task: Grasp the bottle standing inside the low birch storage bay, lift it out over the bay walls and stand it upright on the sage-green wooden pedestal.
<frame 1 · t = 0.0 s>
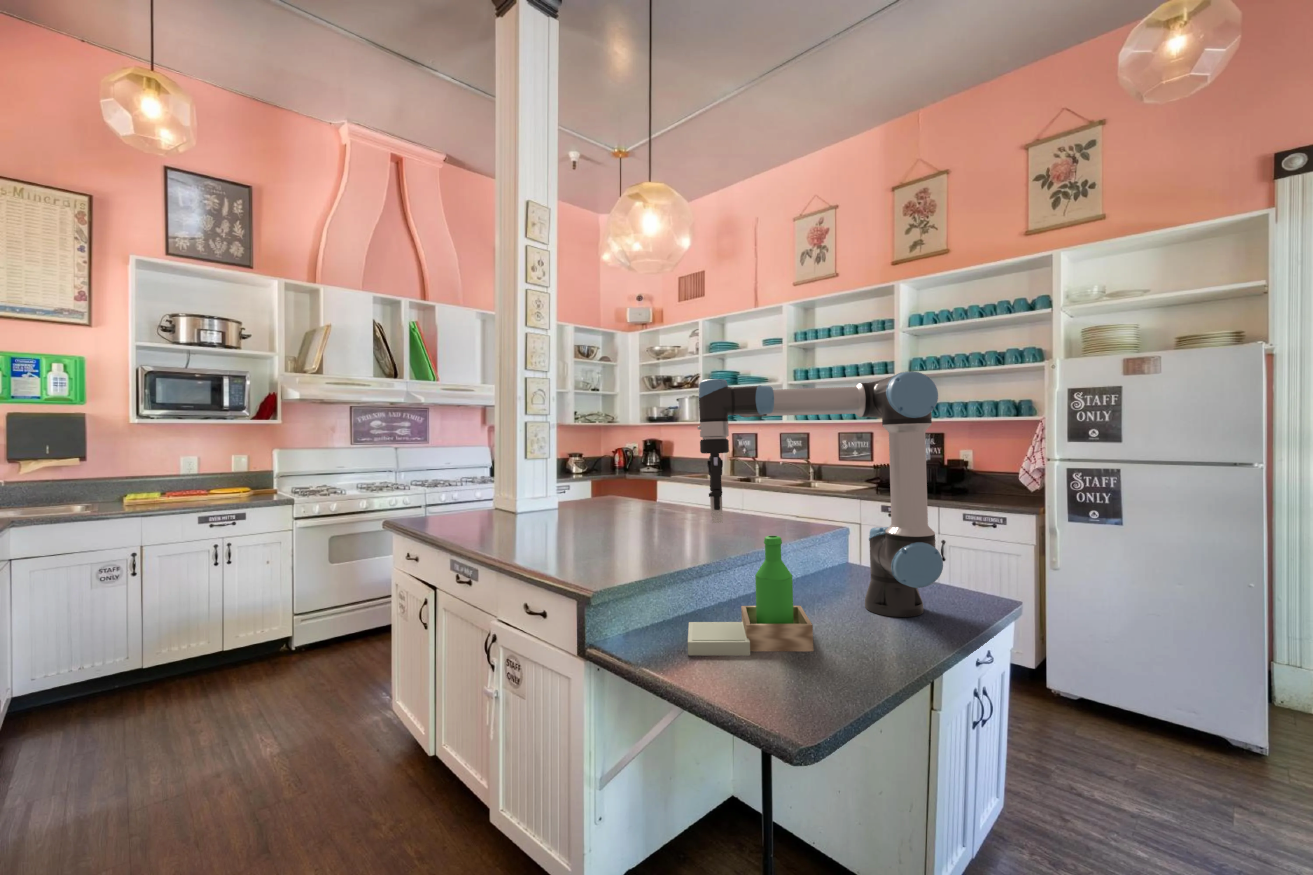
hand: (716, 518, 147), 28 cm above the table, fingers open, 13 cm apart
bottle: (775, 640, 135), resting in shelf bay
stand block: (717, 644, 133), on the table
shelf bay: (775, 639, 135), on the table
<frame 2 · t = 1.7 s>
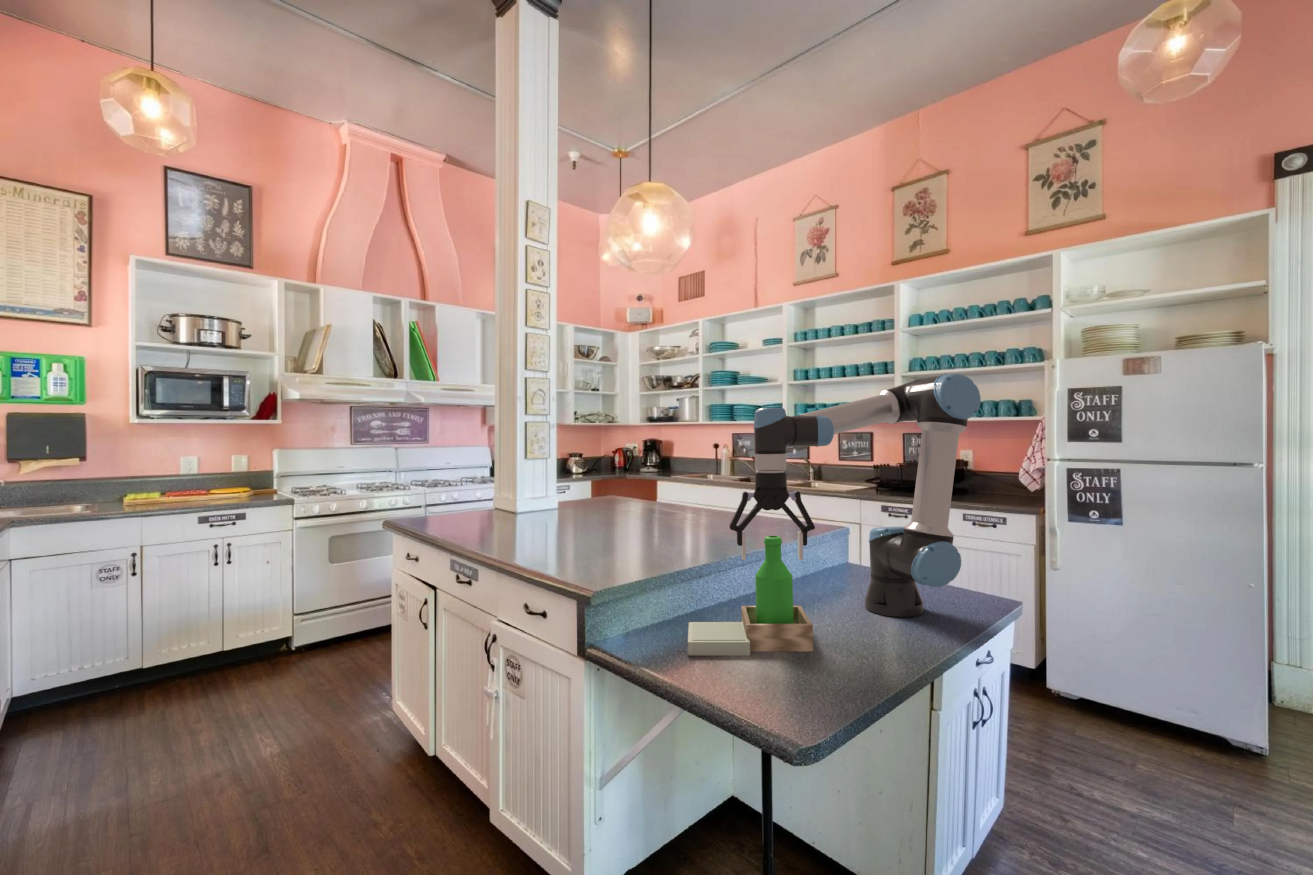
hand: (772, 559, 135), 20 cm above the table, fingers open, 13 cm apart
nothing on the table moved.
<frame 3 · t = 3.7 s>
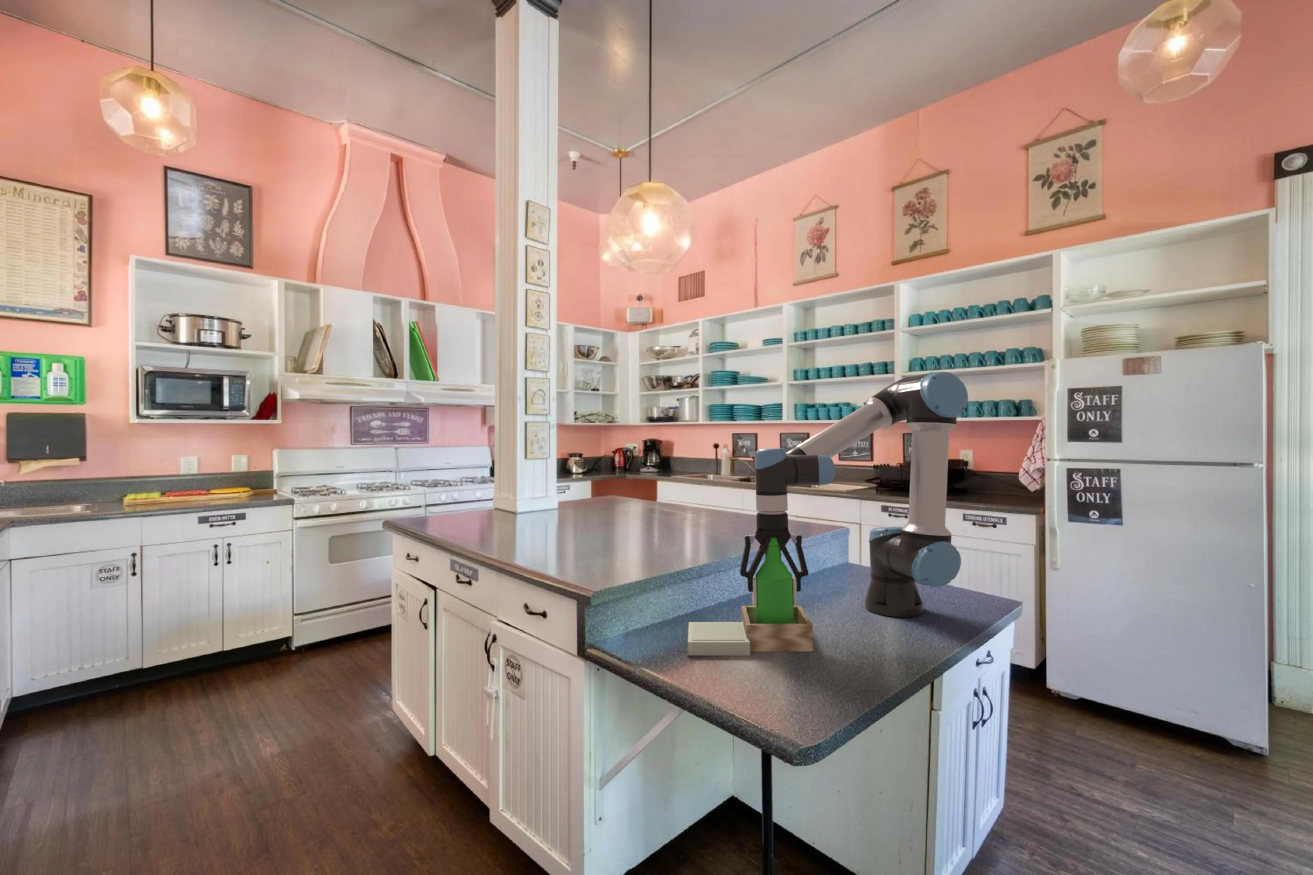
hand: (774, 604, 135), 8 cm above the table, fingers closed on bottle, 9 cm apart
bottle: (775, 640, 135), resting in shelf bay, touching gripper
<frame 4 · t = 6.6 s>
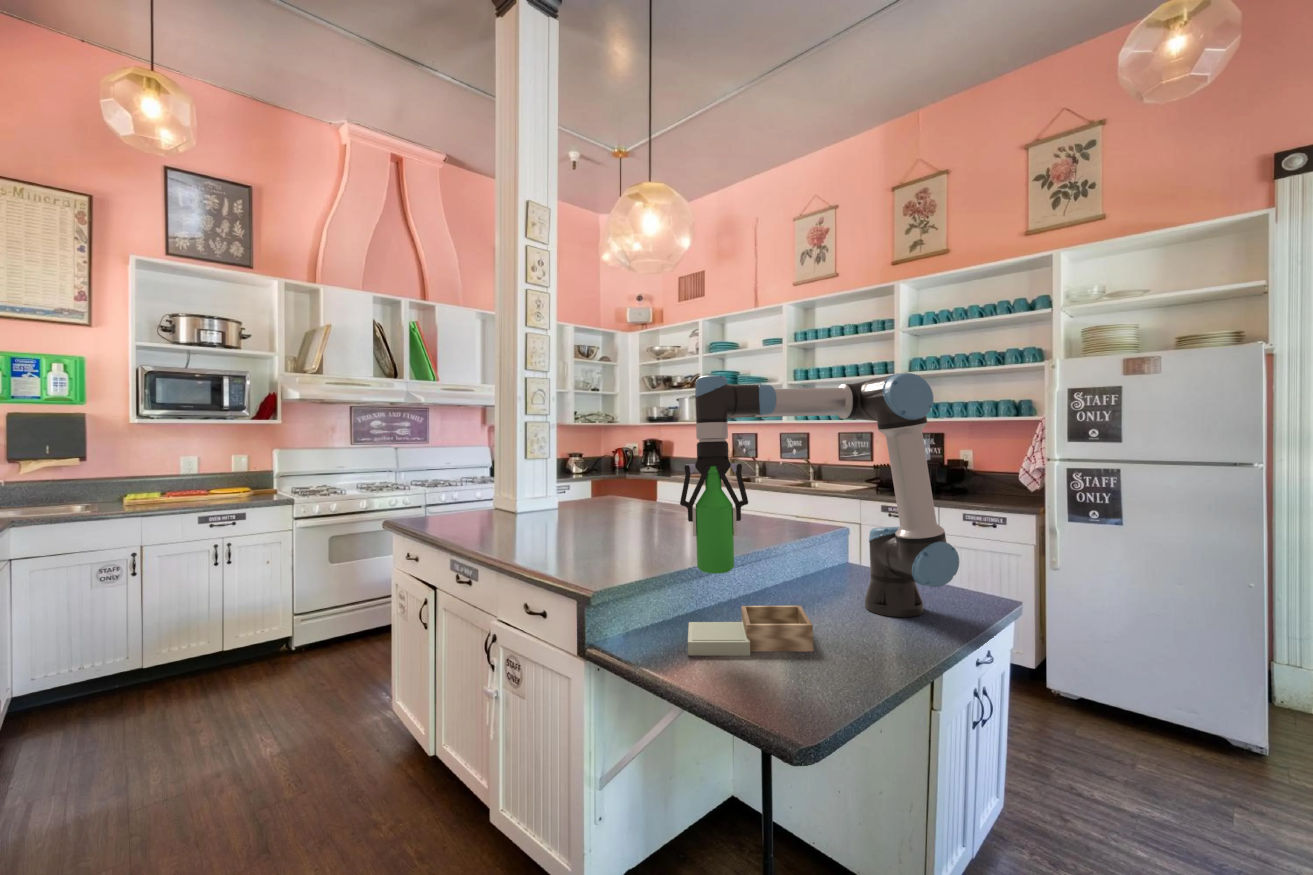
hand: (714, 534, 134), 26 cm above the table, fingers closed on bottle, 9 cm apart
bottle: (715, 570, 134), point 17 cm above the table, touching gripper
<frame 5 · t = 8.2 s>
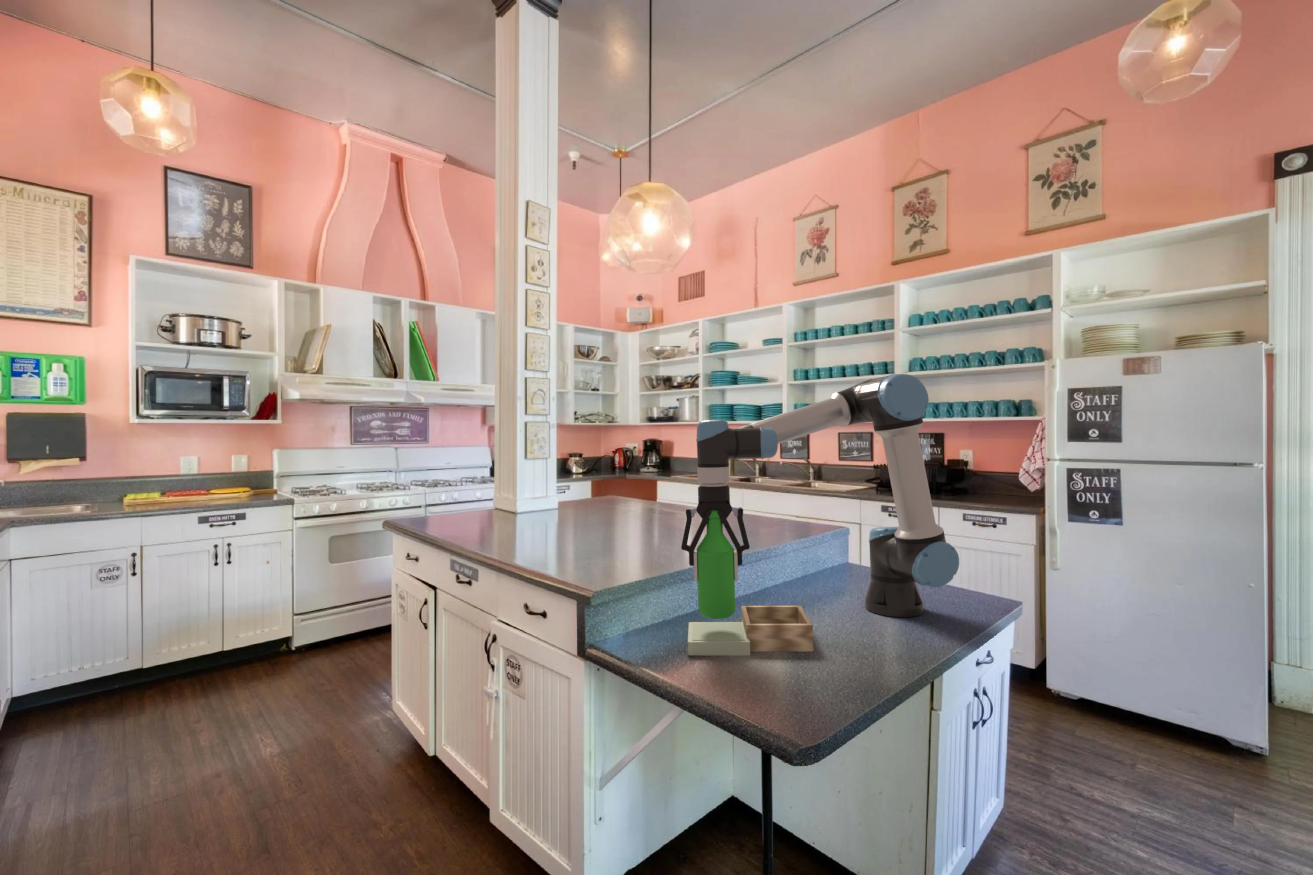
hand: (715, 578, 134), 16 cm above the table, fingers closed on bottle, 9 cm apart
bottle: (716, 615, 133), point 7 cm above the table, touching gripper
when the fingers open (13 cm above the table, at t = 9.6 s): bottle drops 2 cm, resting on stand block.
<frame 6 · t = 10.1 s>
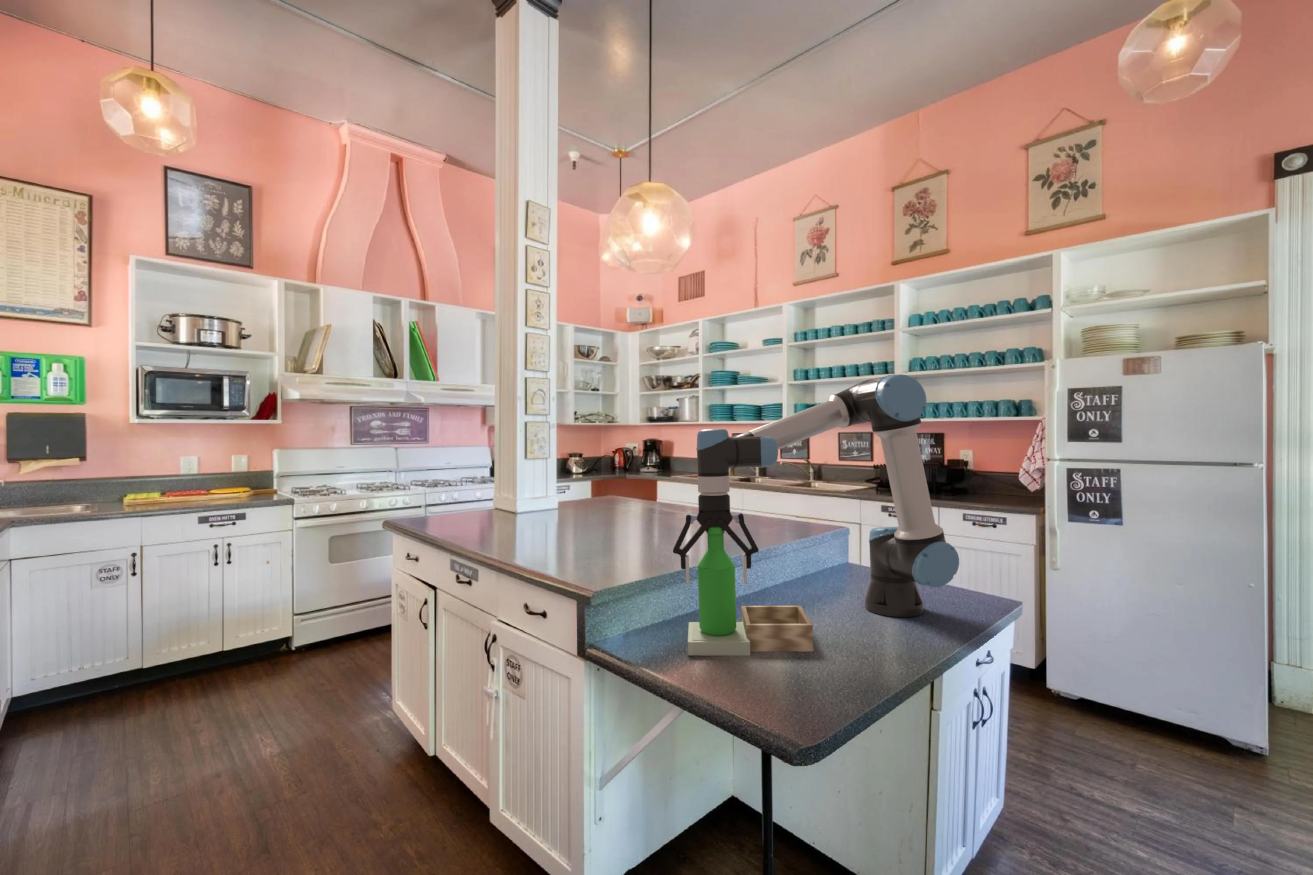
hand: (716, 582, 134), 15 cm above the table, fingers open, 13 cm apart
bottle: (717, 631, 133), point 3 cm above the table, touching stand block
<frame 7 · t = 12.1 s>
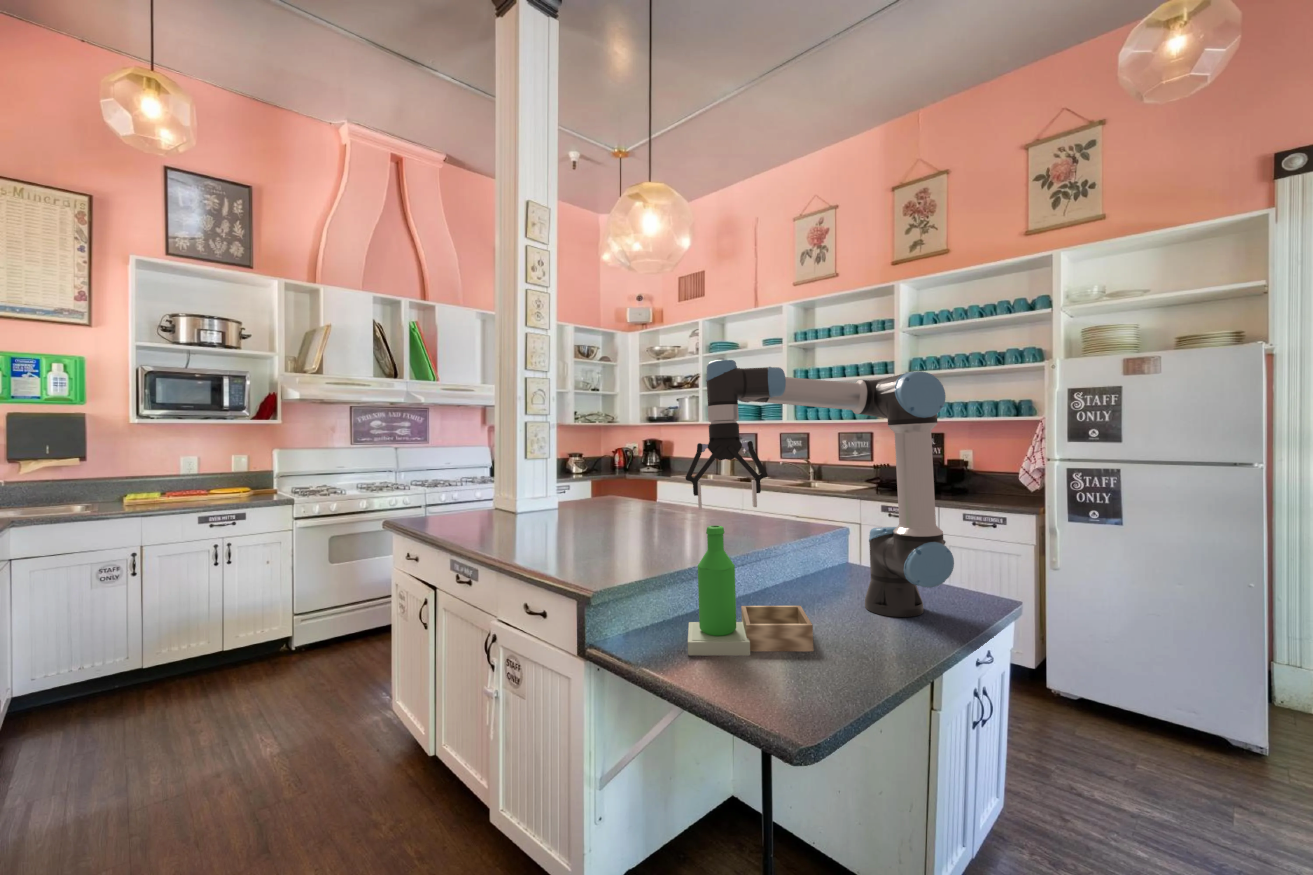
hand: (727, 507, 139), 32 cm above the table, fingers open, 13 cm apart
nothing on the table moved.
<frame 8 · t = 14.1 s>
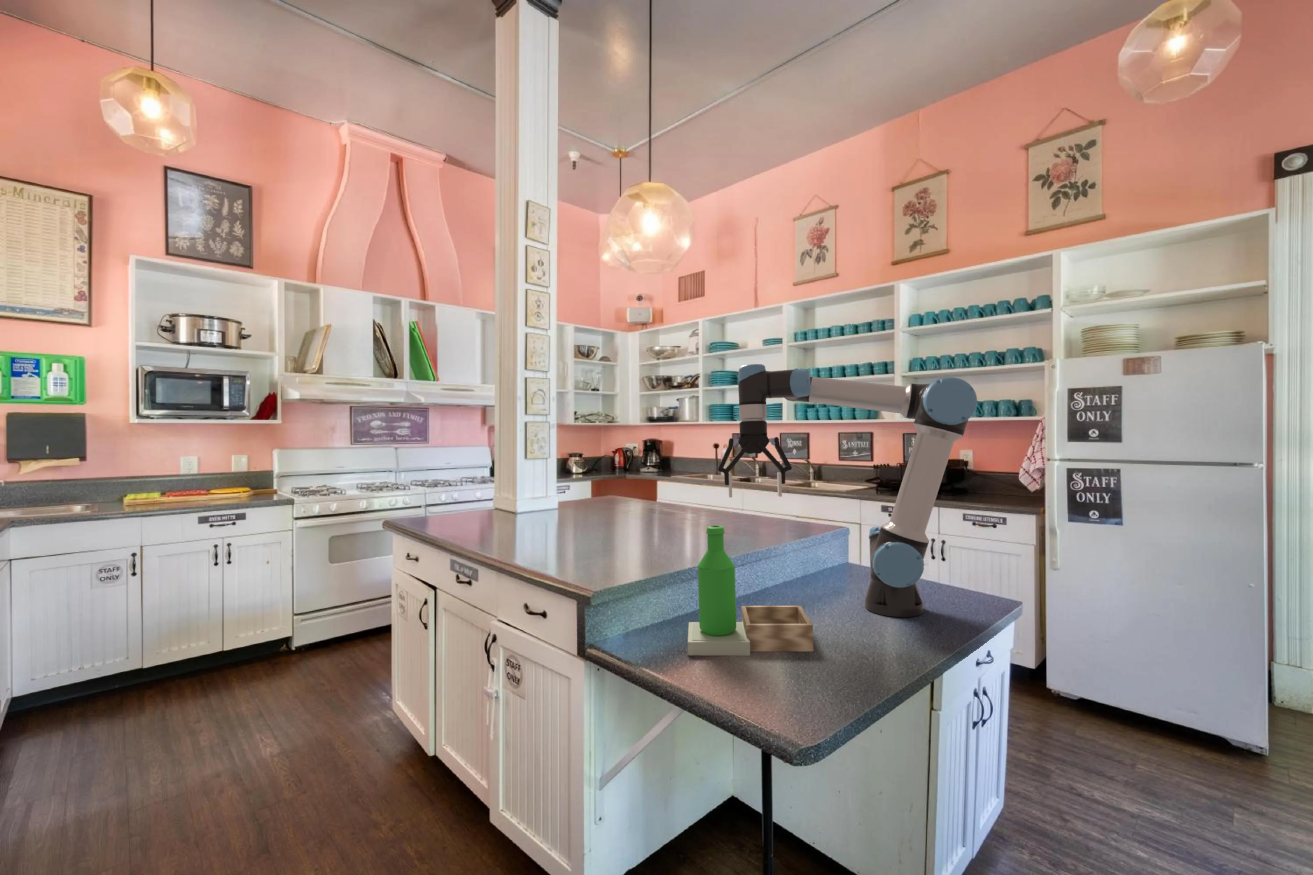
hand: (755, 496, 156), 33 cm above the table, fingers open, 13 cm apart
nothing on the table moved.
at the end: bottle 0.1 cm from the stand block (horizontally); bottle tilted 0°; bottle point 3.0 cm above the table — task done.
